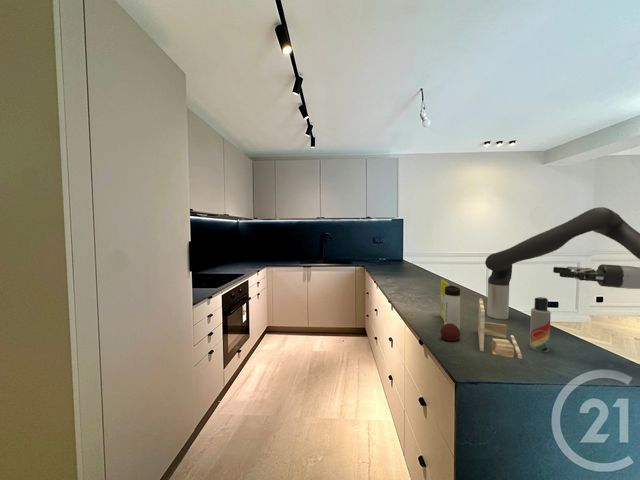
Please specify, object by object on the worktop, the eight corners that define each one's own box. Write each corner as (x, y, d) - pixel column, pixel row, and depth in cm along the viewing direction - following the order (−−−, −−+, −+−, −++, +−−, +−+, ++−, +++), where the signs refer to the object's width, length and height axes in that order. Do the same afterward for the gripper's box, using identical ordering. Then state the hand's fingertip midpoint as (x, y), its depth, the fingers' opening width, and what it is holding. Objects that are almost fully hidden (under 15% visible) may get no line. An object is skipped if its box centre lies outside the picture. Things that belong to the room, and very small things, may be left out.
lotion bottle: (544, 354, 97) (546, 300, 96) (526, 347, 102) (528, 296, 101) (551, 350, 100) (554, 298, 99) (534, 344, 105) (536, 294, 104)
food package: (449, 326, 126) (450, 284, 125) (446, 326, 126) (447, 284, 125) (441, 315, 141) (442, 278, 140) (439, 315, 141) (439, 278, 140)
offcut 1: (492, 342, 102) (492, 338, 102) (507, 344, 101) (507, 340, 101) (497, 349, 96) (497, 345, 96) (513, 351, 95) (513, 346, 95)
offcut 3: (491, 350, 103) (491, 345, 103) (509, 353, 100) (510, 349, 100) (492, 358, 97) (493, 353, 97) (513, 362, 94) (513, 357, 94)
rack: (478, 334, 117) (479, 298, 116) (513, 340, 110) (514, 302, 110) (479, 353, 99) (481, 310, 99) (521, 361, 93) (523, 316, 93)
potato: (437, 341, 110) (437, 324, 109) (443, 335, 116) (444, 319, 116) (456, 346, 105) (457, 329, 104) (462, 339, 111) (462, 323, 111)
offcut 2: (491, 346, 103) (491, 342, 102) (507, 348, 101) (508, 344, 101) (496, 354, 97) (496, 349, 96) (513, 356, 95) (514, 352, 95)
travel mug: (458, 328, 123) (459, 285, 122) (460, 334, 117) (461, 289, 116) (443, 327, 125) (444, 284, 124) (444, 332, 119) (445, 288, 118)
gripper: (611, 262, 95) (552, 259, 103) (631, 268, 83) (563, 264, 91) (609, 283, 96) (550, 278, 104) (629, 292, 83) (561, 285, 91)
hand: (556, 271), depth 97 cm, fingers open, 8 cm apart
